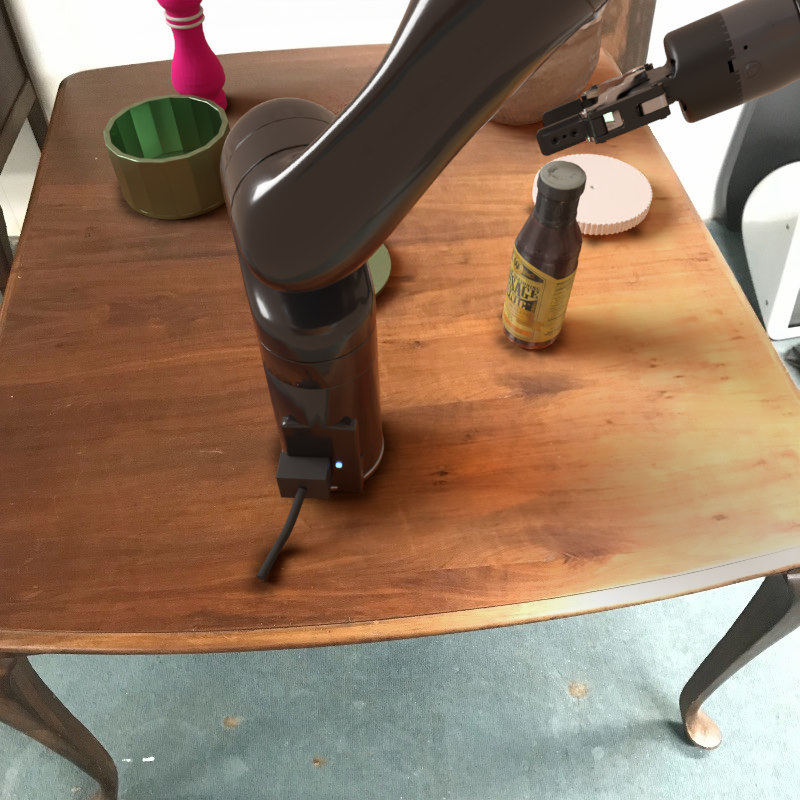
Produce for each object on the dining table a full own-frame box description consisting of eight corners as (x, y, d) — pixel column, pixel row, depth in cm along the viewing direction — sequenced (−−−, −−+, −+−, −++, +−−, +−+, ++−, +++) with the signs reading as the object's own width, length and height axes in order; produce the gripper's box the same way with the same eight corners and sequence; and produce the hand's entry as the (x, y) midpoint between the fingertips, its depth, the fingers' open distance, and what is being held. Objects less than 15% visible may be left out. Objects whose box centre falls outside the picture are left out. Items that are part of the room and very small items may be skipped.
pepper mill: (176, 98, 111) (137, -53, 95) (226, 90, 112) (196, -61, 97) (182, 125, 107) (143, -29, 91) (234, 116, 108) (204, -37, 92)
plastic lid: (636, 170, 99) (640, 153, 97) (657, 242, 90) (663, 224, 88) (526, 171, 99) (528, 153, 97) (537, 242, 90) (539, 224, 88)
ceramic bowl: (547, 169, 99) (565, 55, 87) (402, 122, 106) (401, 11, 95) (612, 90, 111) (636, -20, 99) (478, 52, 118) (485, -54, 107)
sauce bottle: (490, 319, 82) (509, 157, 67) (543, 304, 84) (573, 142, 68) (518, 362, 78) (544, 200, 63) (572, 346, 80) (611, 183, 64)
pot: (226, 221, 93) (213, 163, 87) (109, 218, 94) (87, 160, 88) (248, 152, 102) (237, 95, 96) (141, 150, 103) (123, 93, 97)
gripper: (710, 4, 67) (532, 81, 73) (736, 15, 55) (521, 106, 61) (731, 89, 70) (558, 156, 76) (760, 117, 58) (552, 195, 64)
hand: (542, 134), depth 69 cm, fingers open, 8 cm apart
